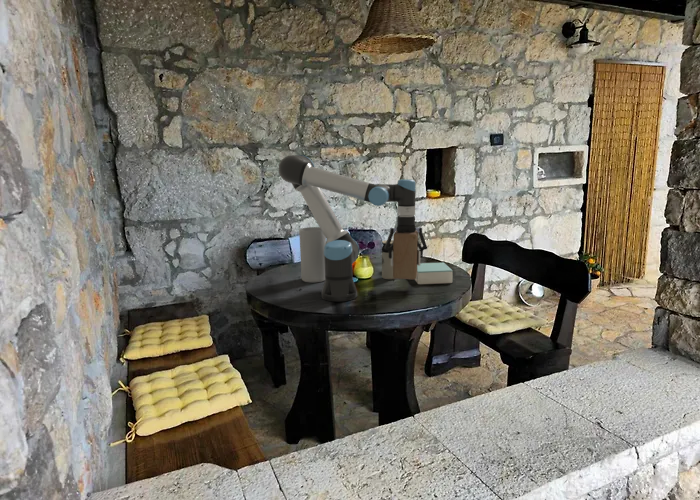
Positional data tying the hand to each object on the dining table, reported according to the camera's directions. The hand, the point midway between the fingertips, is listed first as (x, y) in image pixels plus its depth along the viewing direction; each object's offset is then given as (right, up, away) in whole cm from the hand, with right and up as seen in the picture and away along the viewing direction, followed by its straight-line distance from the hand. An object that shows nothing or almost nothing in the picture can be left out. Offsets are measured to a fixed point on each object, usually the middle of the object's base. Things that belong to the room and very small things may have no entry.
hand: (405, 265), depth 206 cm
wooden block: (0, -5, +1) cm, 5 cm away
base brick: (+15, -7, +19) cm, 25 cm away
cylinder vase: (-42, -8, +23) cm, 48 cm away
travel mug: (-5, -7, +24) cm, 25 cm away
